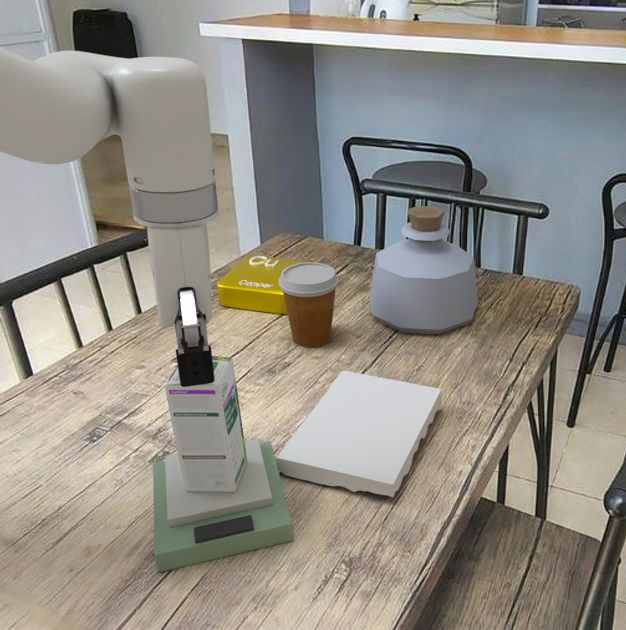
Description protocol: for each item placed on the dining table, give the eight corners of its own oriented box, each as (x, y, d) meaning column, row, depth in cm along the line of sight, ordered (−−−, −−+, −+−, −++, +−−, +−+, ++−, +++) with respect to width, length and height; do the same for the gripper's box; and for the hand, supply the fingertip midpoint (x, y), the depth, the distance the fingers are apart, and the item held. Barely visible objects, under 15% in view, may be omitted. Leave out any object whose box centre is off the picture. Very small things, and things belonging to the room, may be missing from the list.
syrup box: (236, 493, 76) (221, 384, 69) (182, 492, 76) (163, 383, 69) (247, 460, 81) (235, 355, 74) (197, 459, 81) (180, 354, 74)
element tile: (215, 306, 124) (212, 282, 121) (250, 273, 137) (248, 251, 134) (292, 316, 121) (291, 292, 119) (321, 282, 134) (320, 259, 132)
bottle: (350, 298, 128) (348, 201, 119) (442, 280, 136) (446, 188, 127) (396, 347, 112) (397, 240, 103) (496, 324, 120) (505, 222, 111)
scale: (158, 572, 70) (152, 547, 69) (156, 479, 83) (151, 455, 81) (293, 540, 75) (291, 516, 73) (272, 456, 87) (270, 433, 85)
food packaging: (393, 506, 80) (441, 408, 97) (393, 484, 79) (441, 389, 95) (279, 478, 84) (343, 389, 101) (276, 457, 83) (342, 370, 99)
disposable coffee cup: (317, 319, 120) (314, 256, 115) (351, 339, 114) (350, 274, 109) (271, 337, 114) (266, 271, 109) (305, 359, 108) (301, 291, 103)
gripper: (132, 176, 69) (155, 325, 77) (129, 236, 55) (157, 411, 63) (209, 172, 71) (223, 317, 79) (226, 229, 57) (241, 398, 65)
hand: (194, 358), depth 71 cm, fingers open, 9 cm apart
